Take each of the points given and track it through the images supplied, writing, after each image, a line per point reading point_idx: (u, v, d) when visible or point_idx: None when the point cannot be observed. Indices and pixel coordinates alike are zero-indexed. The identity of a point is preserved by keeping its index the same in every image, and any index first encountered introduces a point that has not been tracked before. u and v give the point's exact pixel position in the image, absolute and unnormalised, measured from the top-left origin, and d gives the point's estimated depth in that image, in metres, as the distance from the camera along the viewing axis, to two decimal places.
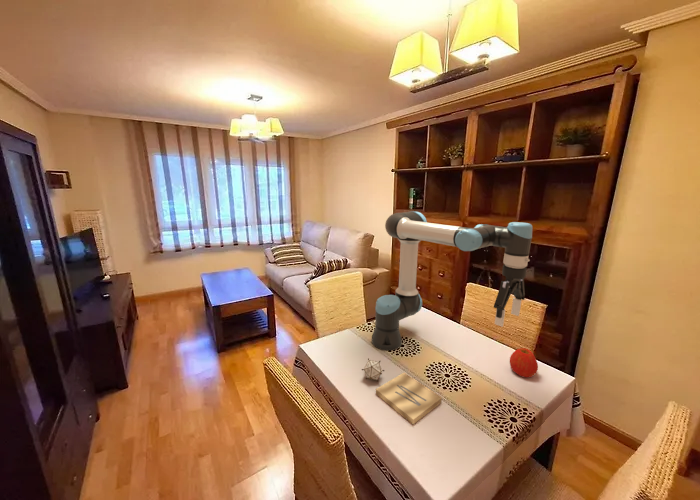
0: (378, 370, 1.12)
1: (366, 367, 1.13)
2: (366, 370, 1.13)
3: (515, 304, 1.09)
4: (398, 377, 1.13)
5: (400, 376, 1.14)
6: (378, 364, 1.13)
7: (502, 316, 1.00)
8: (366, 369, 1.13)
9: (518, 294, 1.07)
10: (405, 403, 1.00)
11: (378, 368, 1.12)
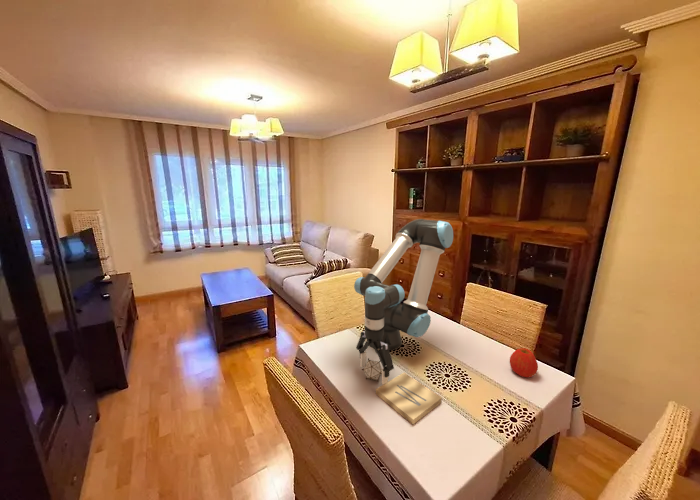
0: (378, 370, 1.12)
1: (366, 367, 1.13)
2: (366, 370, 1.13)
3: None
4: (398, 377, 1.13)
5: (400, 376, 1.14)
6: (378, 364, 1.13)
7: None
8: (366, 369, 1.13)
9: None
10: (405, 403, 1.00)
11: (378, 368, 1.12)
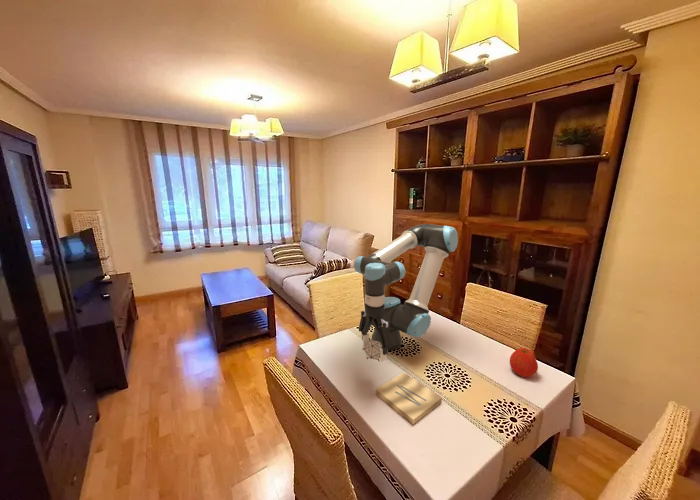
0: (379, 349, 1.10)
1: (367, 346, 1.12)
2: (367, 349, 1.11)
3: None
4: (398, 377, 1.13)
5: (400, 376, 1.14)
6: (379, 343, 1.12)
7: None
8: (367, 348, 1.11)
9: None
10: (405, 403, 1.00)
11: (379, 347, 1.11)
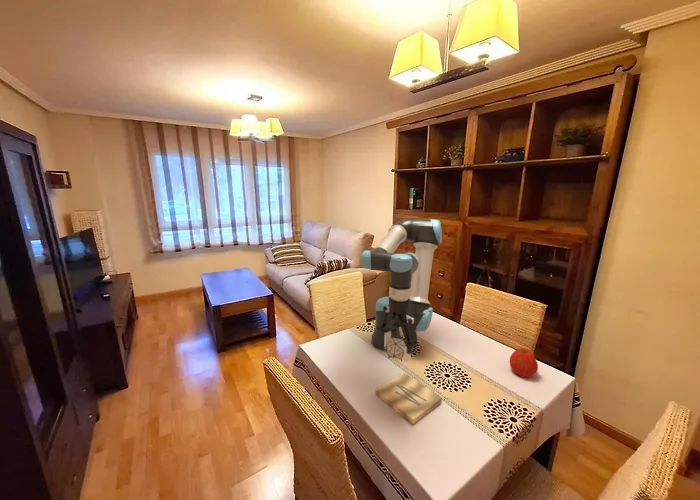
0: (402, 348, 1.02)
1: (389, 344, 1.04)
2: (389, 348, 1.03)
3: None
4: (398, 377, 1.13)
5: (400, 376, 1.14)
6: (402, 342, 1.04)
7: None
8: (389, 346, 1.03)
9: None
10: (405, 403, 1.00)
11: (403, 346, 1.03)
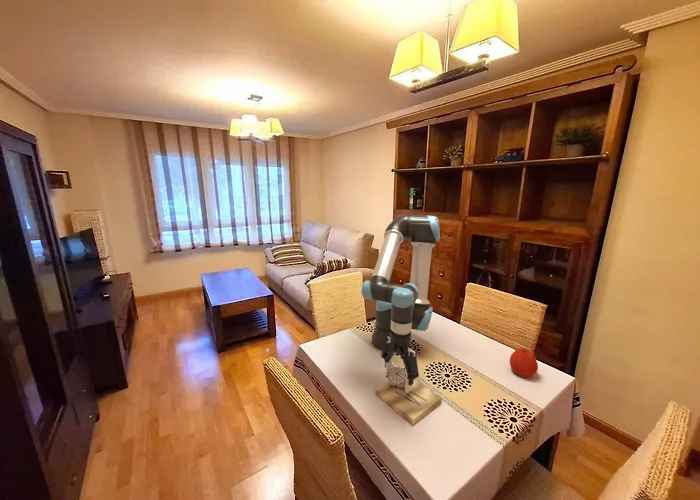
0: (404, 377, 1.04)
1: (390, 374, 1.06)
2: (391, 377, 1.05)
3: None
4: None
5: None
6: (403, 371, 1.06)
7: None
8: (391, 376, 1.05)
9: None
10: (405, 403, 1.00)
11: (404, 375, 1.05)
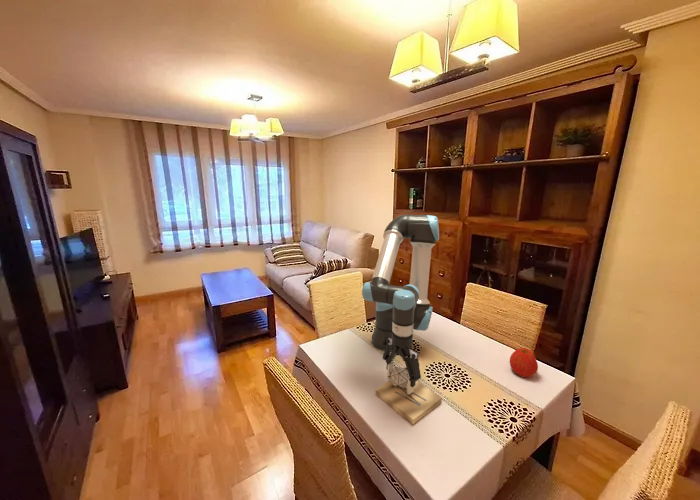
0: (406, 377, 1.04)
1: (392, 374, 1.06)
2: (393, 377, 1.05)
3: None
4: None
5: None
6: (405, 371, 1.06)
7: None
8: (393, 376, 1.05)
9: None
10: (405, 403, 1.00)
11: (406, 375, 1.05)
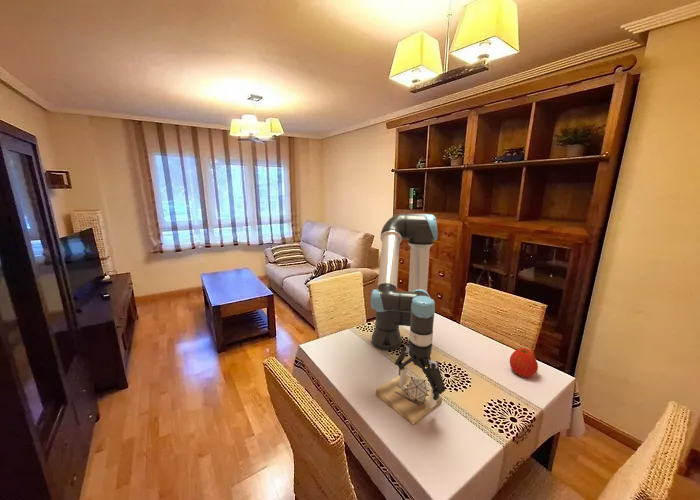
0: (424, 391, 0.98)
1: (410, 387, 0.99)
2: (410, 390, 0.99)
3: None
4: (398, 377, 1.13)
5: None
6: (423, 384, 0.99)
7: None
8: (410, 389, 0.99)
9: None
10: (405, 403, 1.00)
11: (424, 389, 0.98)
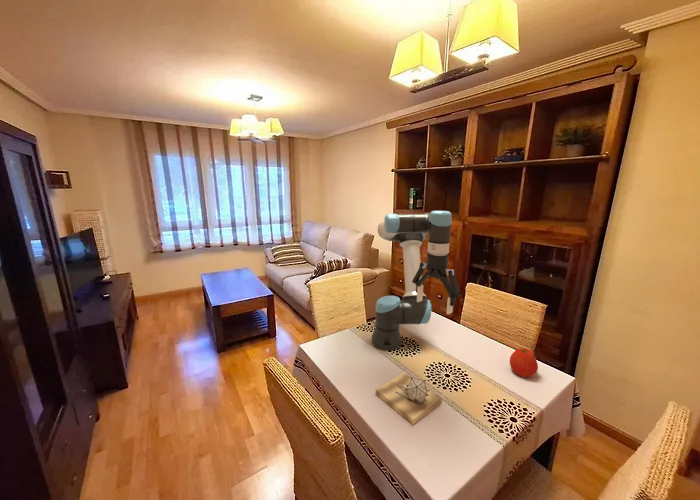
0: (424, 391, 0.98)
1: (410, 387, 0.99)
2: (410, 390, 0.99)
3: None
4: (398, 377, 1.13)
5: (400, 376, 1.14)
6: (423, 384, 0.99)
7: None
8: (410, 389, 0.99)
9: None
10: (405, 403, 1.00)
11: (424, 389, 0.98)
